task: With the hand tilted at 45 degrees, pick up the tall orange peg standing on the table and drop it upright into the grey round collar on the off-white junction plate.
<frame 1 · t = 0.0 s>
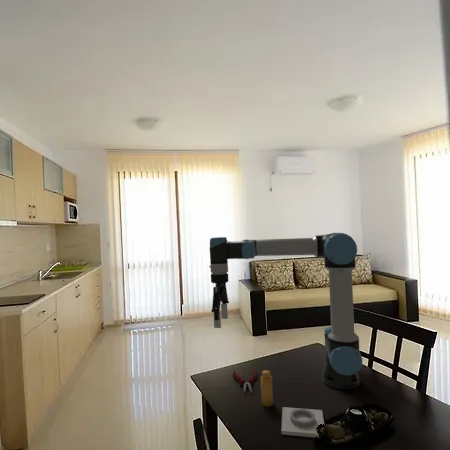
hand: (221, 322, 135), 28 cm above the table, tool pointing down, fingers open, 13 cm apart
junction plate: (302, 423, 109), on the table
orange peg: (267, 403, 122), on the table
pliers: (243, 383, 140), on the table
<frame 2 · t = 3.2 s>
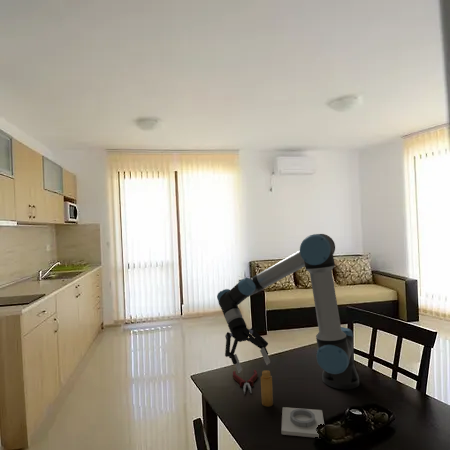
hand: (254, 367, 128), 11 cm above the table, tool tilted 45°, fingers open, 13 cm apart
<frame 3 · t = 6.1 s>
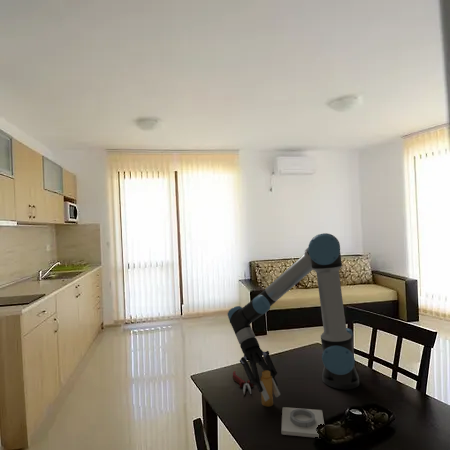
hand: (272, 397, 119), 4 cm above the table, tool tilted 45°, fingers closed on orange peg, 4 cm apart
orange peg: (267, 403, 122), on the table, touching gripper
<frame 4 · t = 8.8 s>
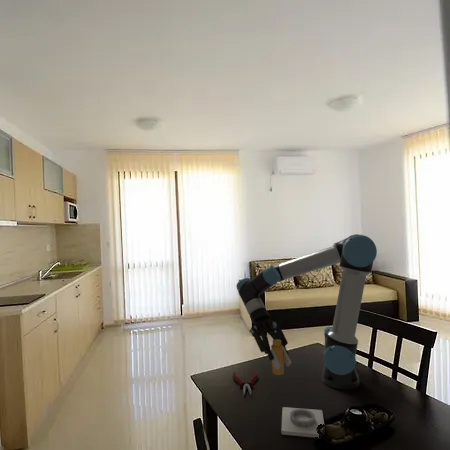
hand: (283, 366, 117), 16 cm above the table, tool tilted 45°, fingers closed on orange peg, 4 cm apart
orange peg: (278, 372, 120), point 13 cm above the table, touching gripper
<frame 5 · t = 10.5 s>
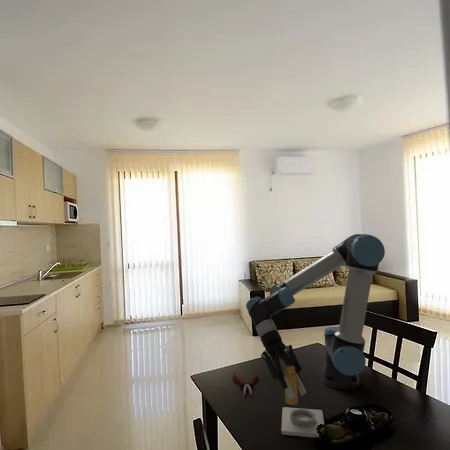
hand: (298, 395, 109), 10 cm above the table, tool tilted 45°, fingers closed on orange peg, 4 cm apart
orange peg: (291, 401, 112), point 6 cm above the table, touching gripper
when the fingers open (7 cm above the table, at t = 11.8 s): orange peg drops 2 cm, resting on junction plate.
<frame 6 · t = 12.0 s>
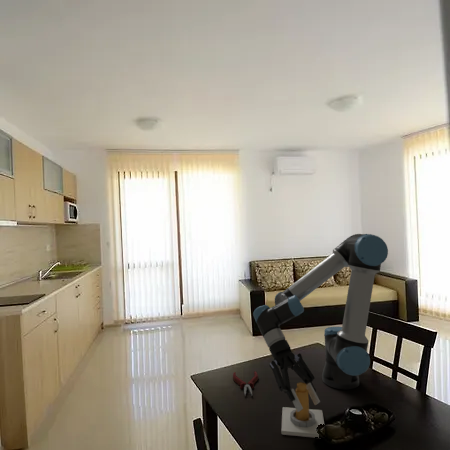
hand: (309, 406, 106), 7 cm above the table, tool tilted 45°, fingers open, 7 cm apart
orange peg: (302, 419, 109), point 1 cm above the table, touching junction plate
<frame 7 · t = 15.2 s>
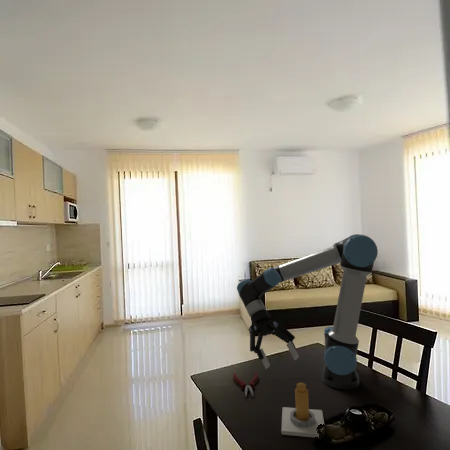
hand: (282, 362, 118), 17 cm above the table, tool tilted 45°, fingers open, 13 cm apart
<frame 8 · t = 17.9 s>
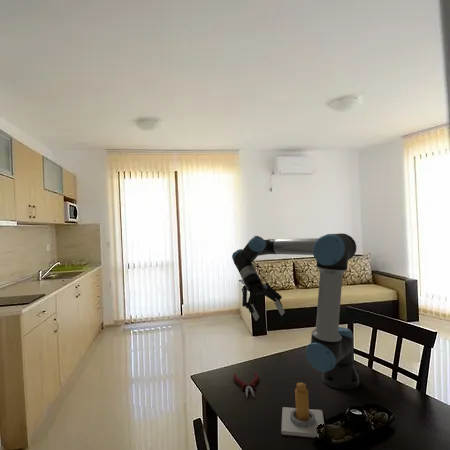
hand: (270, 316, 137), 30 cm above the table, tool tilted 45°, fingers open, 13 cm apart
at the end: orange peg 0.1 cm off-centre on the junction plate, point 1.2 cm above the junction plate's base; orange peg tilted 0°; the gripper is holding nothing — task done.
